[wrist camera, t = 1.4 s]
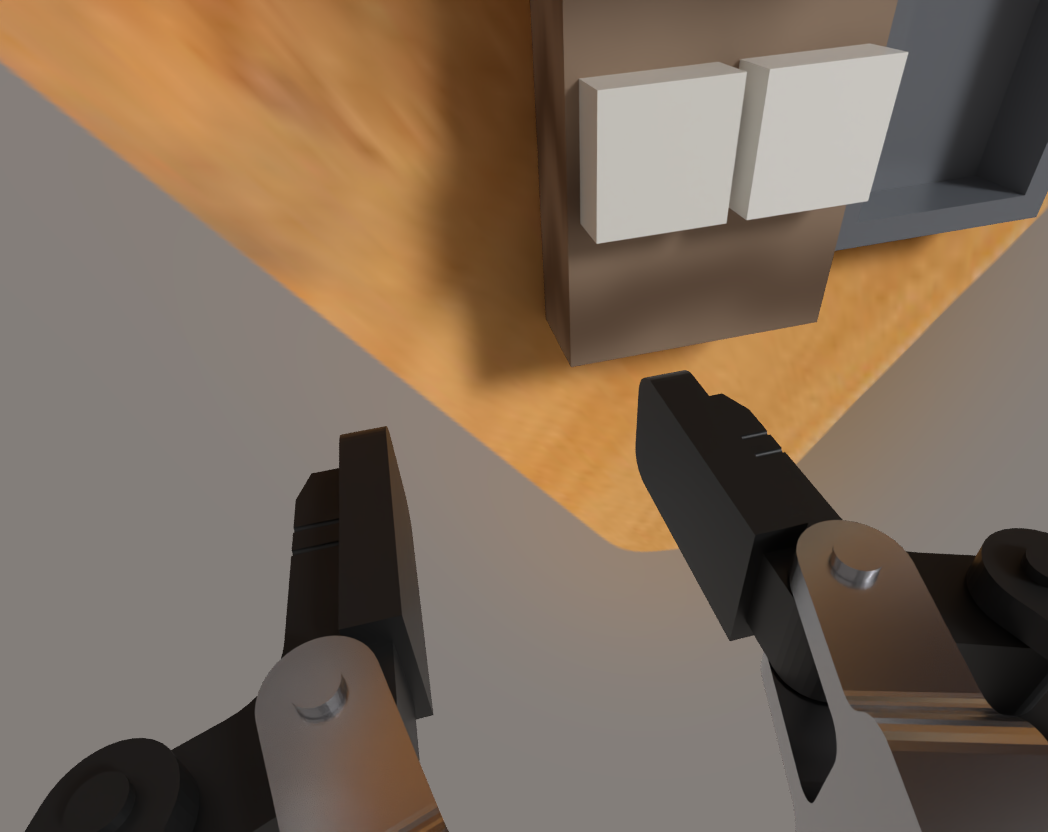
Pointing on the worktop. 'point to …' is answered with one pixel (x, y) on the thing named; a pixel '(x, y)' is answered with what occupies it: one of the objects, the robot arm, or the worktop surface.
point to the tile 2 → (813, 128)
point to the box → (960, 122)
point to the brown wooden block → (688, 255)
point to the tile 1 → (658, 149)
